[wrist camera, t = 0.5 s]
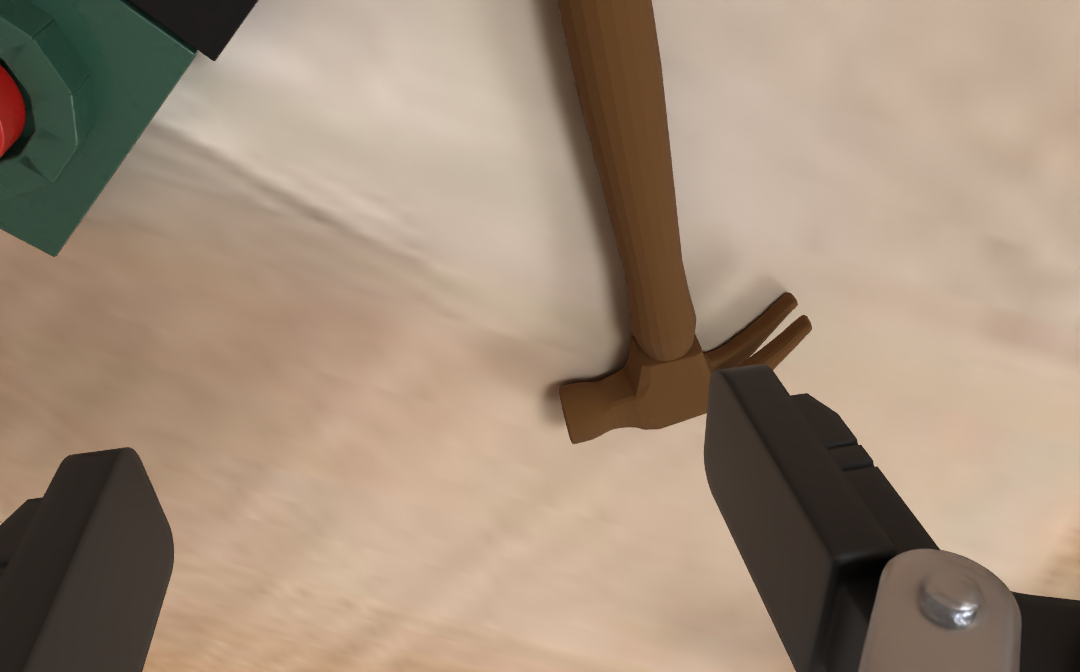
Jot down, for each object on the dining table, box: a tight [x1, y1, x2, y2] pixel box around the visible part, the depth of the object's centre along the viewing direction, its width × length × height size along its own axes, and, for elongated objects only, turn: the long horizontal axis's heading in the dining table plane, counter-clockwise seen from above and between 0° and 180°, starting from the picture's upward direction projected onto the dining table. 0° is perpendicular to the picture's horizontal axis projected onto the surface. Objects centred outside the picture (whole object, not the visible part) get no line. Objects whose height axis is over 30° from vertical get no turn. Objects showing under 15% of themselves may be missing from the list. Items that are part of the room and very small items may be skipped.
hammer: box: [557, 0, 812, 444], centre depth 29 cm, size 12×3×30 cm
